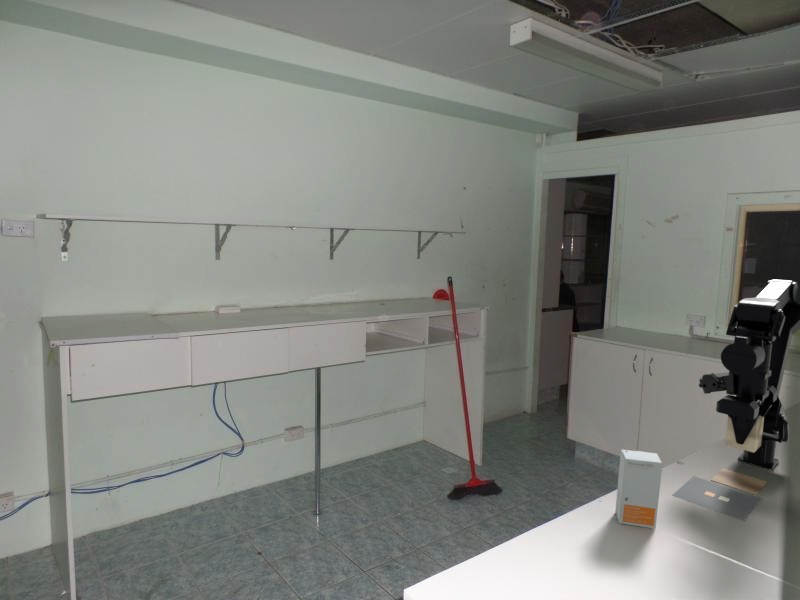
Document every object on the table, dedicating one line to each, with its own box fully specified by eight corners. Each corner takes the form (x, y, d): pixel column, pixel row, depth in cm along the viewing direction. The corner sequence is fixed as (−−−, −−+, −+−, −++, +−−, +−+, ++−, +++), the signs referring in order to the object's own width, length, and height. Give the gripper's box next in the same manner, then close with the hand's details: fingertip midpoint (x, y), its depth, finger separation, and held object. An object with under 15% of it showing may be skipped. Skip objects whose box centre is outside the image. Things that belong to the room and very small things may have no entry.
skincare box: (618, 524, 91) (624, 458, 89) (615, 512, 95) (619, 448, 93) (657, 530, 89) (663, 462, 88) (651, 516, 94) (657, 452, 92)
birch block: (732, 438, 110) (735, 410, 109) (760, 445, 106) (764, 417, 105) (725, 444, 106) (728, 416, 106) (754, 452, 103) (757, 423, 102)
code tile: (693, 476, 109) (693, 475, 109) (762, 499, 101) (762, 497, 101) (671, 496, 101) (671, 495, 101) (744, 522, 92) (744, 520, 92)
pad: (722, 469, 113) (722, 468, 113) (767, 483, 107) (767, 481, 107) (710, 481, 107) (710, 479, 107) (756, 496, 102) (756, 494, 102)
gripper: (720, 350, 116) (713, 418, 118) (690, 364, 103) (683, 440, 106) (781, 359, 108) (773, 432, 110) (757, 376, 95) (748, 458, 98)
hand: (743, 440), depth 106 cm, fingers closed on birch block, 5 cm apart
